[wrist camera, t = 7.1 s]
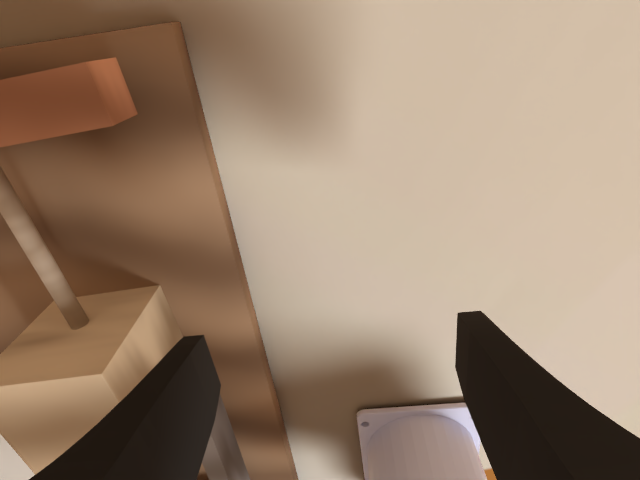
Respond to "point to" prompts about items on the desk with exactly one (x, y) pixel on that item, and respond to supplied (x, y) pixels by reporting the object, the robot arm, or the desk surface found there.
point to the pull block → (68, 310)
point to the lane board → (146, 230)
